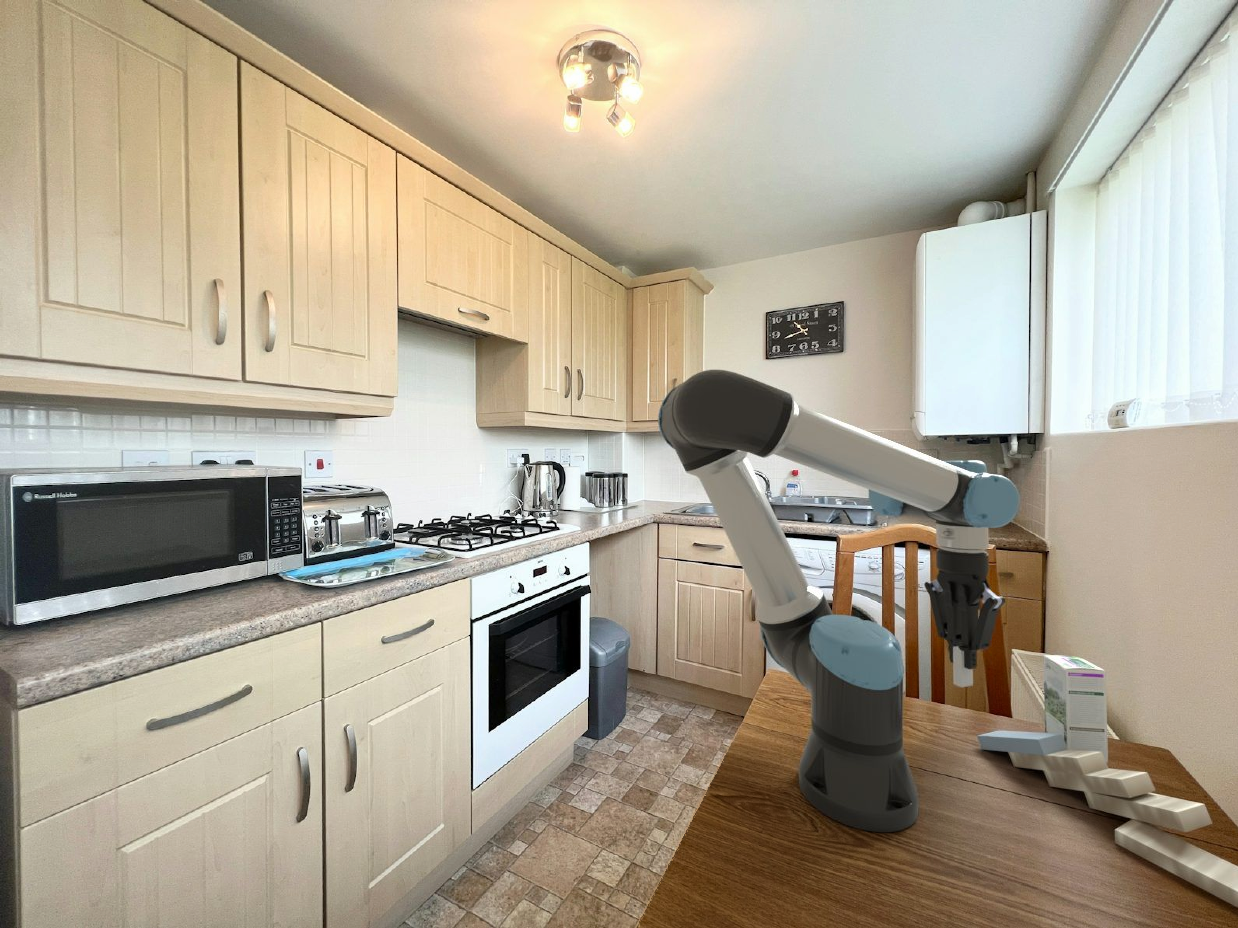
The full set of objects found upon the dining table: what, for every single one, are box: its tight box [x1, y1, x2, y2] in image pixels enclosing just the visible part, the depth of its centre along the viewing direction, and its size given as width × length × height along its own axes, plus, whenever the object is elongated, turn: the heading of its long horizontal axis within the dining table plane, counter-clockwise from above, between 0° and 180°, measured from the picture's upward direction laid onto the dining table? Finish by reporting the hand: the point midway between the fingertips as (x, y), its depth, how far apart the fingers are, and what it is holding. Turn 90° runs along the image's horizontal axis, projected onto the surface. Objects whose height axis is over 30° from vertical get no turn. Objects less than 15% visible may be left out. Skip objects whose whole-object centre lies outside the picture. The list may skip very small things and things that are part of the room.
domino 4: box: [1083, 791, 1213, 833], centre depth 63 cm, size 2×5×10 cm
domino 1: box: [976, 730, 1068, 755], centre depth 77 cm, size 2×5×10 cm
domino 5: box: [1114, 819, 1238, 908], centre depth 57 cm, size 2×5×10 cm
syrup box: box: [1042, 654, 1109, 764], centre depth 80 cm, size 6×6×14 cm
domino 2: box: [1007, 749, 1110, 775], centre depth 73 cm, size 2×5×10 cm
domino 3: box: [1043, 767, 1157, 798], centre depth 68 cm, size 2×5×10 cm
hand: (963, 684), depth 86 cm, fingers closed
